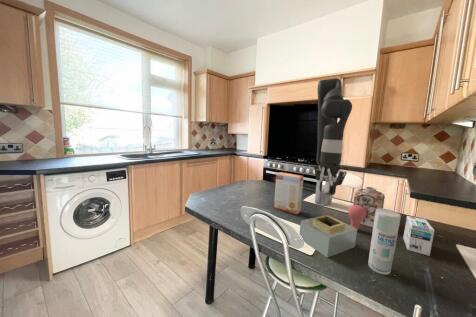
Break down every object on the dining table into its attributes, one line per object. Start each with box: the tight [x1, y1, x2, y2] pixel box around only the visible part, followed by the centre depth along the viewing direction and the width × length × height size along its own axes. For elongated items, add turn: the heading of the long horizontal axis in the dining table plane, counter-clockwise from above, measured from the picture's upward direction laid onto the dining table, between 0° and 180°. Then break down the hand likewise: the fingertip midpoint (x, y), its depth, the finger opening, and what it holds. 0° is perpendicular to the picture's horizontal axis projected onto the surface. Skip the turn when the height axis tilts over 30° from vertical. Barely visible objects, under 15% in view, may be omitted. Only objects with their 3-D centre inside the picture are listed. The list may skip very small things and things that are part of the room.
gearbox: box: [299, 214, 358, 258], centre depth 80 cm, size 16×14×9 cm
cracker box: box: [273, 171, 304, 216], centre depth 110 cm, size 14×6×21 cm, turn 50°
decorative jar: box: [352, 186, 386, 229], centre depth 99 cm, size 12×12×18 cm
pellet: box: [321, 180, 331, 195], centre depth 79 cm, size 4×4×5 cm
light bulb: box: [347, 204, 366, 231], centre depth 91 cm, size 7×7×12 cm
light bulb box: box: [402, 215, 435, 257], centre depth 79 cm, size 11×7×11 cm, turn 148°
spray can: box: [367, 208, 402, 276], centre depth 65 cm, size 6×6×20 cm
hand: (326, 192), depth 80 cm, fingers closed on pellet, 4 cm apart
